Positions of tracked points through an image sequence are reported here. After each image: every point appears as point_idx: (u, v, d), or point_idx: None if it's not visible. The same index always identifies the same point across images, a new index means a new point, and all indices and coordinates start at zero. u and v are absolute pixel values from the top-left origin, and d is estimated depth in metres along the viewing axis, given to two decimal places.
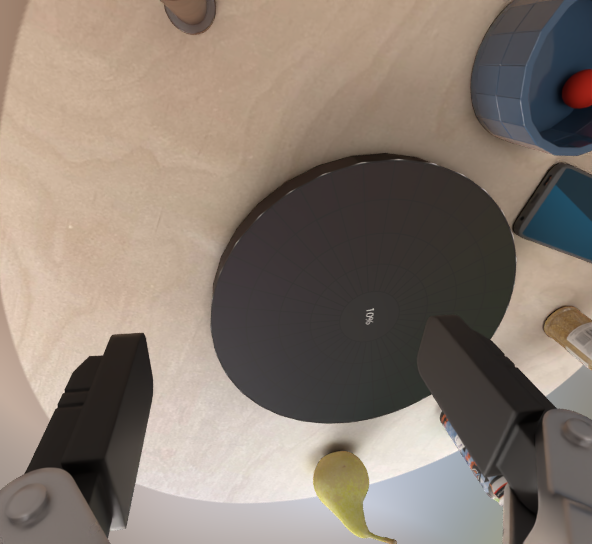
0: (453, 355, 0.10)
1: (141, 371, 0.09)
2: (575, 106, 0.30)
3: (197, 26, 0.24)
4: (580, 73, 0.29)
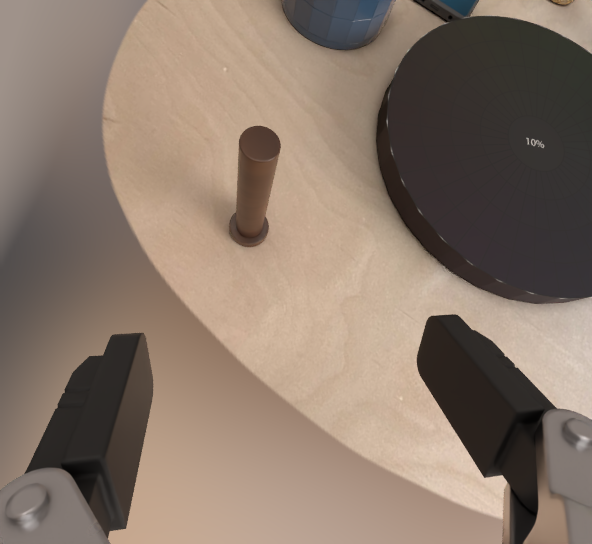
0: (453, 355, 0.10)
1: (141, 371, 0.09)
2: None
3: (264, 225, 0.31)
4: None
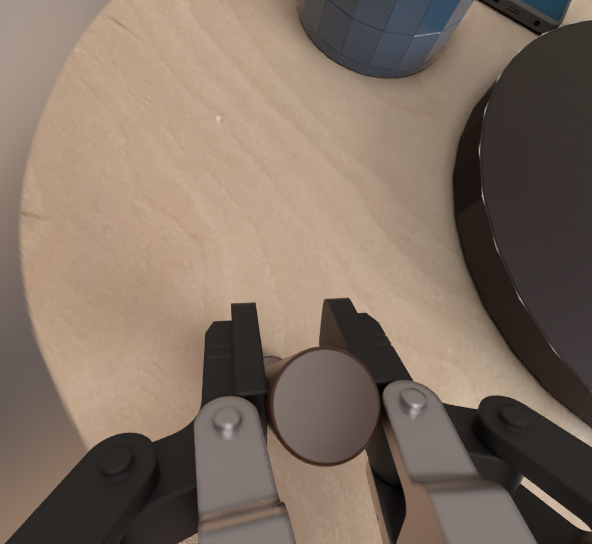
0: (335, 335, 0.10)
1: None
2: None
3: None
4: None
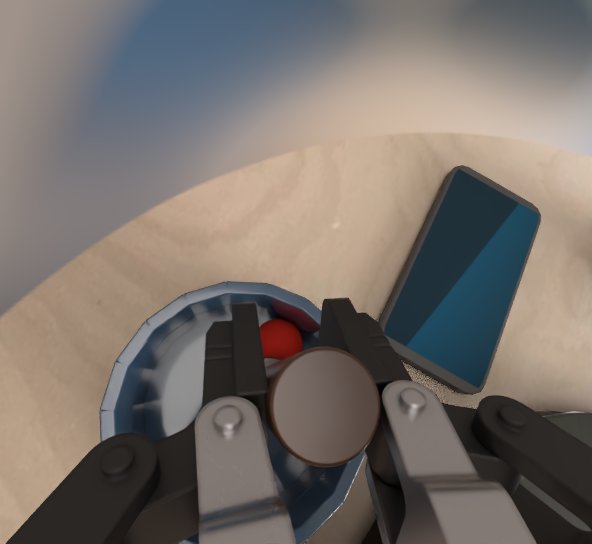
0: (335, 335, 0.10)
1: None
2: None
3: None
4: None
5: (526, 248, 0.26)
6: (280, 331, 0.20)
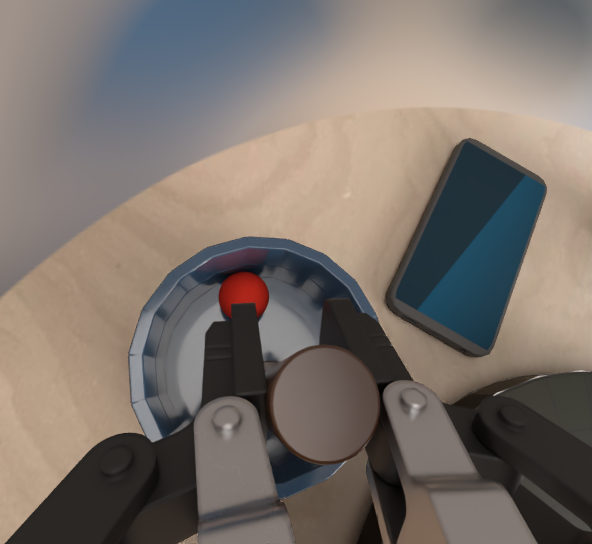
0: (335, 335, 0.10)
1: None
2: (225, 300, 0.20)
3: None
4: None
5: (533, 218, 0.27)
6: None
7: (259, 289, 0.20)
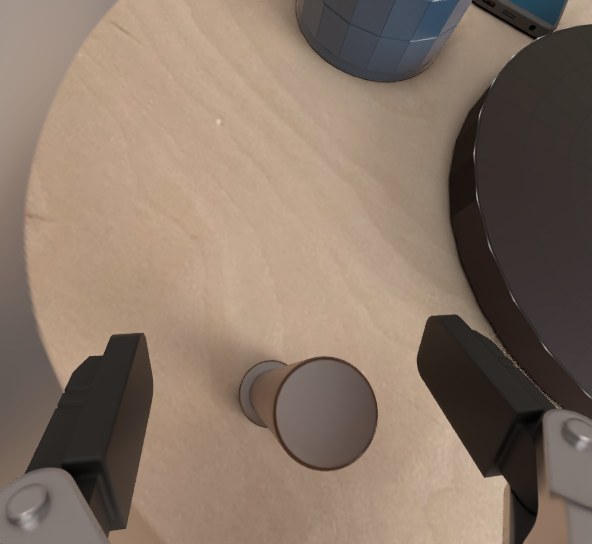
0: (453, 355, 0.10)
1: (141, 371, 0.09)
2: None
3: None
4: None
5: None
6: None
7: None
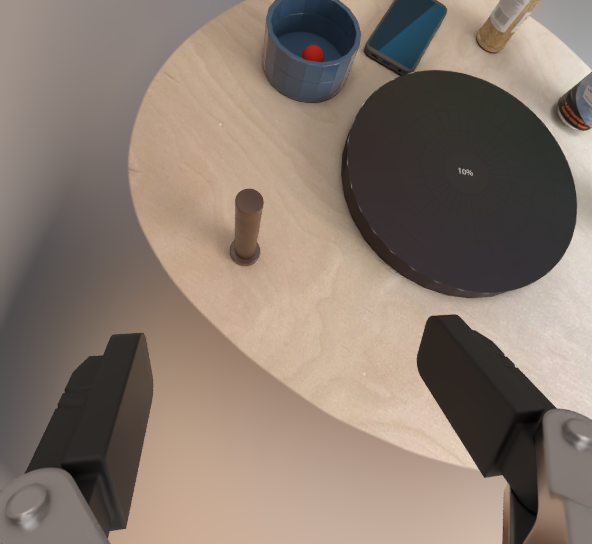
0: (453, 355, 0.10)
1: (141, 371, 0.09)
2: None
3: (256, 249, 0.41)
4: (311, 45, 0.46)
5: (438, 21, 0.54)
6: (310, 60, 0.46)
7: None
